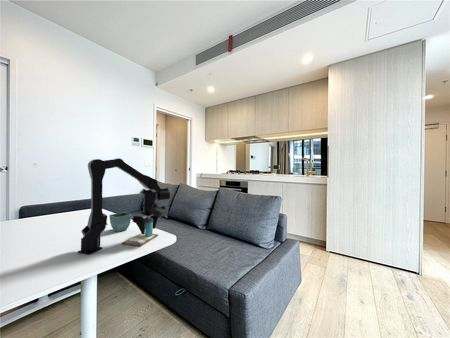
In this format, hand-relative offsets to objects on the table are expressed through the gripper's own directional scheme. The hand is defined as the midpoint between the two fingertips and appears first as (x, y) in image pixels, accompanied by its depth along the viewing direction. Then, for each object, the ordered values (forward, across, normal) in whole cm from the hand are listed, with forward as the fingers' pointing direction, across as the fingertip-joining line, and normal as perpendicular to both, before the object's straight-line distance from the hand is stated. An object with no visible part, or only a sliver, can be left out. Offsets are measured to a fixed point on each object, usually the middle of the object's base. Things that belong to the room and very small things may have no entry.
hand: (148, 231), depth 99 cm
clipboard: (+3, -4, +2) cm, 5 cm away
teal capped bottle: (+2, 0, 0) cm, 2 cm away
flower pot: (+3, +5, +22) cm, 23 cm away
